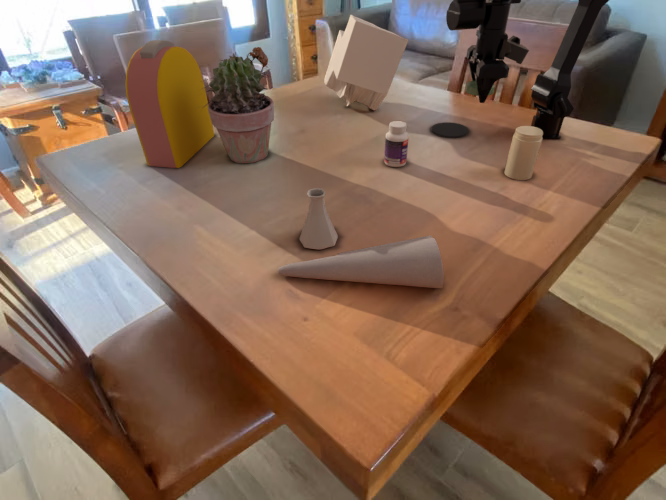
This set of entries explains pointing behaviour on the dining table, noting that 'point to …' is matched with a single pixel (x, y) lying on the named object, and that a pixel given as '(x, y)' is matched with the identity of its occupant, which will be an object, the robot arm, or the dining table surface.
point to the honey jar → (523, 152)
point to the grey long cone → (378, 265)
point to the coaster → (450, 130)
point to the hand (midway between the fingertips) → (479, 98)
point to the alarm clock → (167, 103)
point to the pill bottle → (396, 144)
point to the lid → (472, 88)
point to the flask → (317, 223)
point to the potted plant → (241, 107)
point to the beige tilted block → (364, 62)
